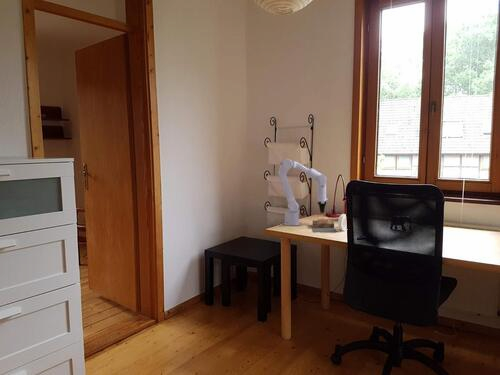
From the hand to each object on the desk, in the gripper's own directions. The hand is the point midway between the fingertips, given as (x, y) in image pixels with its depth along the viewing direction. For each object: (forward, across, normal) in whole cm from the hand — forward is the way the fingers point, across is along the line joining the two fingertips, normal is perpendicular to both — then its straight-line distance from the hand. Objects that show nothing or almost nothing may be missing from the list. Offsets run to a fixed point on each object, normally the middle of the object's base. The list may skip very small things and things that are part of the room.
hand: (322, 212), depth 259 cm
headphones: (+8, -17, -15) cm, 24 cm away
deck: (+7, -10, 0) cm, 12 cm away
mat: (+7, -22, 0) cm, 23 cm away
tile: (+4, -10, 0) cm, 10 cm away
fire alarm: (+8, +9, -25) cm, 28 cm away
